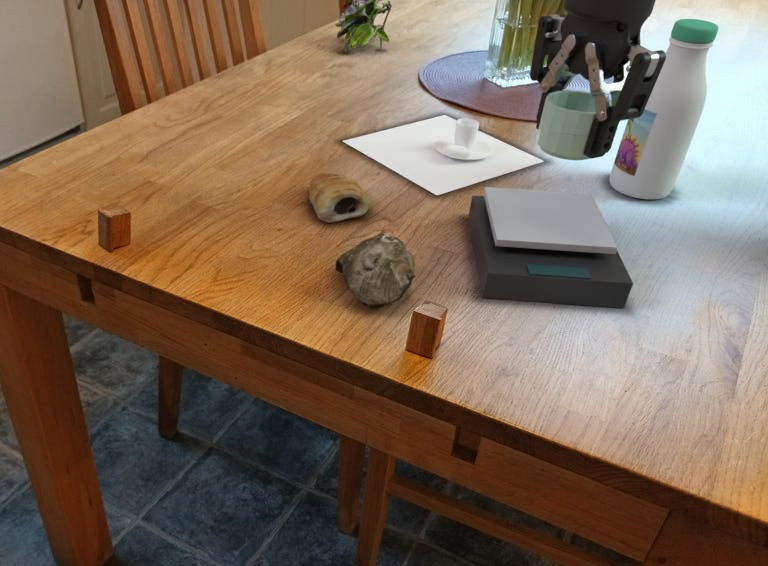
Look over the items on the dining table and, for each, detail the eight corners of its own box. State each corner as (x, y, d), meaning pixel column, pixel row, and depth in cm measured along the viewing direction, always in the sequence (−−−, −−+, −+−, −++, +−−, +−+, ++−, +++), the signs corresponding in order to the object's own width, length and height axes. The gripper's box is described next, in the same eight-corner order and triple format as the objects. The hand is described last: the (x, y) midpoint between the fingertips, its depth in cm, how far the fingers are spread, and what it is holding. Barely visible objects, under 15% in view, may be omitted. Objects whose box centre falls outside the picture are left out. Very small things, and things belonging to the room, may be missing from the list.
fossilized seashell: (431, 296, 68) (415, 257, 77) (400, 239, 66) (387, 205, 74) (360, 331, 70) (353, 289, 79) (328, 277, 68) (324, 240, 76)
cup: (592, 138, 74) (606, 91, 71) (606, 164, 69) (622, 115, 66) (530, 134, 75) (541, 88, 72) (540, 160, 70) (553, 111, 67)
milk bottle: (672, 181, 95) (734, 19, 82) (669, 206, 89) (736, 36, 77) (610, 170, 97) (662, 10, 84) (604, 193, 92) (658, 26, 79)
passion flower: (347, 70, 144) (360, 9, 144) (396, 69, 139) (409, 7, 138) (320, 47, 135) (333, -18, 134) (371, 45, 129) (385, -22, 128)
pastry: (297, 190, 91) (298, 162, 88) (347, 185, 92) (349, 157, 90) (320, 226, 84) (322, 196, 81) (374, 219, 85) (377, 189, 83)
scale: (587, 226, 85) (598, 190, 82) (623, 308, 72) (638, 269, 69) (467, 218, 86) (474, 182, 83) (482, 298, 73) (491, 259, 70)
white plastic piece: (458, 169, 96) (463, 139, 94) (418, 148, 102) (422, 120, 99) (504, 155, 100) (510, 126, 98) (463, 135, 105) (468, 108, 103)
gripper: (723, -32, 57) (651, 165, 68) (596, -64, 67) (550, 112, 78) (653, -25, 55) (590, 178, 65) (532, -59, 65) (494, 122, 76)
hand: (569, 142), depth 72 cm, fingers closed on cup, 6 cm apart
